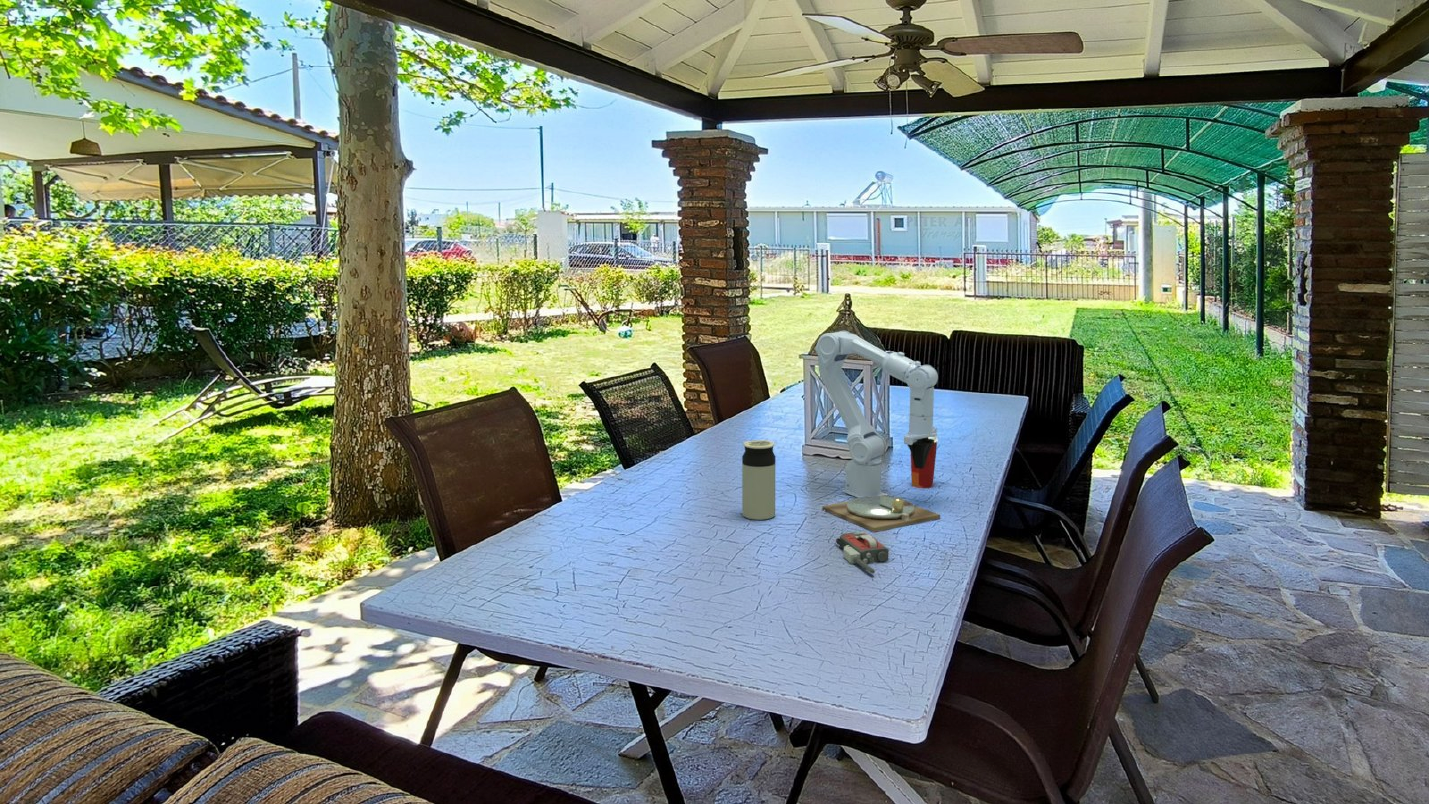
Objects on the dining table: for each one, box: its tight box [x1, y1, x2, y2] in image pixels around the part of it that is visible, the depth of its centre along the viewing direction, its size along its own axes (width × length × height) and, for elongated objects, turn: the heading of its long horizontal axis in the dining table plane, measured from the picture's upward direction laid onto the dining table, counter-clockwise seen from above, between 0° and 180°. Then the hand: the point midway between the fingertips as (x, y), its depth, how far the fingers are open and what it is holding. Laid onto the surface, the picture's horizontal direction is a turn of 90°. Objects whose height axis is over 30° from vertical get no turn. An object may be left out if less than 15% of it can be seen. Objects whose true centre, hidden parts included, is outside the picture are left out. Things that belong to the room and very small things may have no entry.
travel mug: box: [741, 439, 776, 521], centre depth 210 cm, size 8×8×18 cm
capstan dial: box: [847, 496, 914, 519], centre depth 211 cm, size 16×16×4 cm
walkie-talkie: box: [835, 531, 890, 574], centre depth 181 cm, size 9×4×20 cm
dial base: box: [821, 495, 941, 533], centre depth 211 cm, size 20×20×2 cm
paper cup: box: [910, 435, 939, 489], centre depth 236 cm, size 8×8×14 cm
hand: (919, 467), depth 218 cm, fingers closed
